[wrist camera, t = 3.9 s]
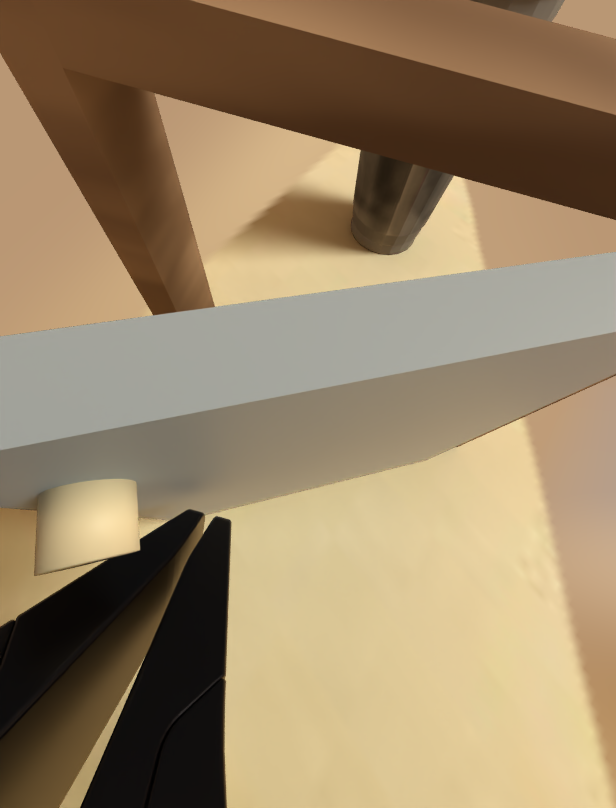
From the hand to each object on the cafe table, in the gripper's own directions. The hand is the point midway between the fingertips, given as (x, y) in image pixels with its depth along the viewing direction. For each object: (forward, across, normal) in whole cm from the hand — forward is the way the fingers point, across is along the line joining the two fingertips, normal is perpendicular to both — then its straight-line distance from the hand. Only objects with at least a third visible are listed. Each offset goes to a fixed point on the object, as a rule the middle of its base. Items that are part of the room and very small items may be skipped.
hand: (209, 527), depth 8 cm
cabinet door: (+6, -3, +2) cm, 7 cm away
